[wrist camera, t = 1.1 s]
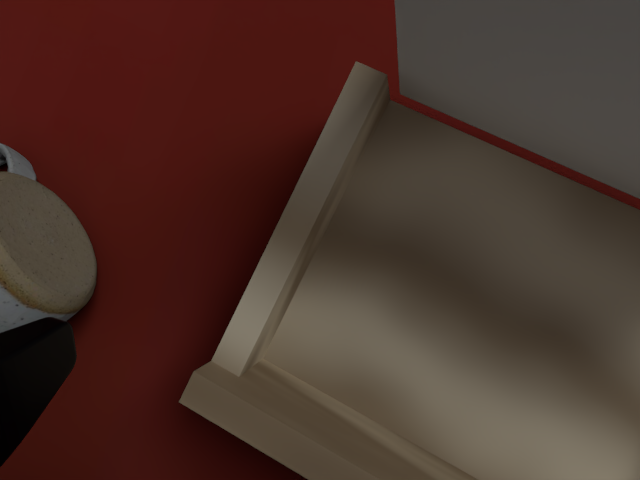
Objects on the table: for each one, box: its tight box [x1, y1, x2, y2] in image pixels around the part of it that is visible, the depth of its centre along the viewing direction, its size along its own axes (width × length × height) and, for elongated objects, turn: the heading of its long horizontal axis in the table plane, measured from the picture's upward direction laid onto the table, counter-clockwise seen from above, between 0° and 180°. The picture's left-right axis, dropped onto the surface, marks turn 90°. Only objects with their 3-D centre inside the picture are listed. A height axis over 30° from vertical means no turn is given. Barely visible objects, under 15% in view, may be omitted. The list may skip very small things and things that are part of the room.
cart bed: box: [179, 62, 640, 480], centre depth 18 cm, size 13×18×6 cm
